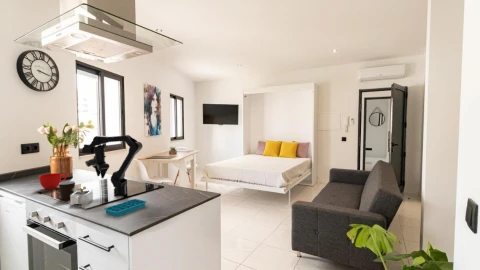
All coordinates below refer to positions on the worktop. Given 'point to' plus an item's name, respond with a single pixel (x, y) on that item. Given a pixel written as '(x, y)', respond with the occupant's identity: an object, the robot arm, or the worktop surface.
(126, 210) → the ice cube tray
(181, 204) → the worktop surface
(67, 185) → the coffee mug
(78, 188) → the plunger
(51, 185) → the ceramic cup
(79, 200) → the press body
